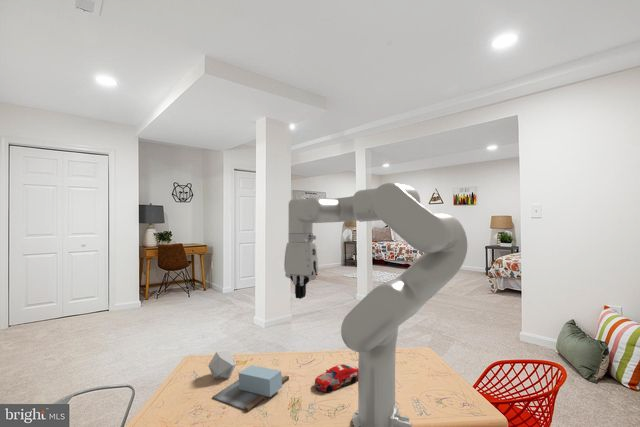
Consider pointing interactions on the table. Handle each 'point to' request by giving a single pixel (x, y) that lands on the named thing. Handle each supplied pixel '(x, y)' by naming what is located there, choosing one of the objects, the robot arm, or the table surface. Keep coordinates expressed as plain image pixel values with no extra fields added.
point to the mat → (241, 396)
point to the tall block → (260, 380)
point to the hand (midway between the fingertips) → (300, 297)
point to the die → (222, 365)
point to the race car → (336, 377)
